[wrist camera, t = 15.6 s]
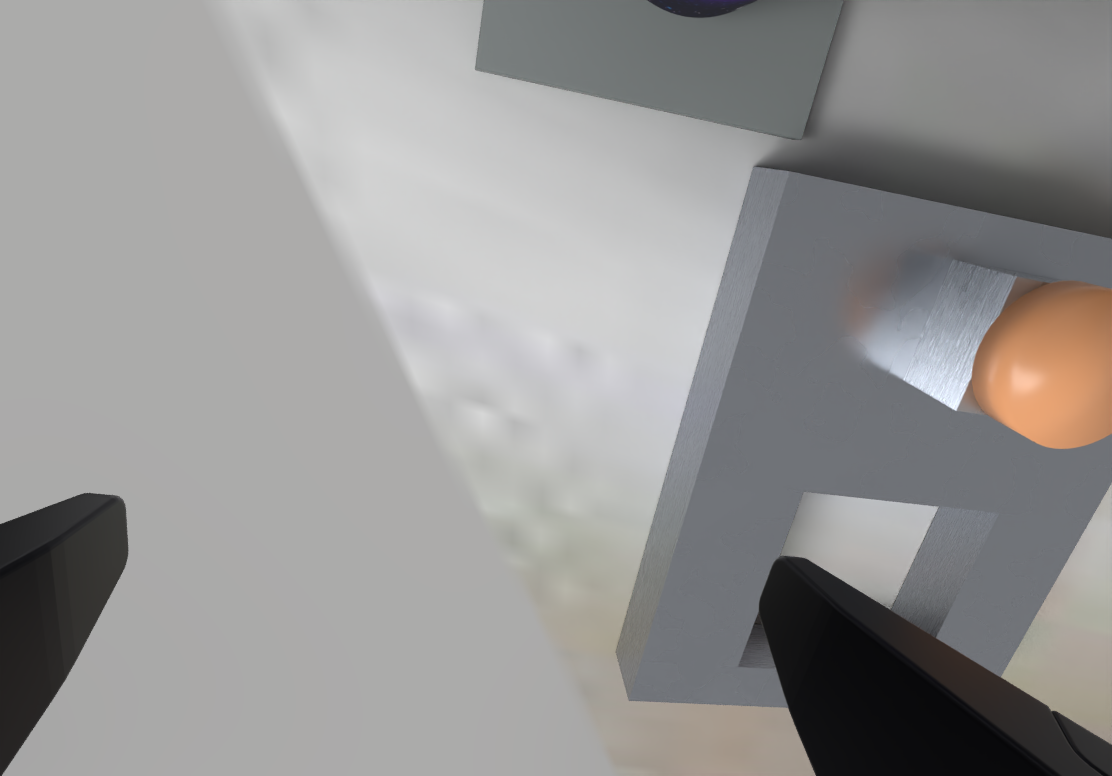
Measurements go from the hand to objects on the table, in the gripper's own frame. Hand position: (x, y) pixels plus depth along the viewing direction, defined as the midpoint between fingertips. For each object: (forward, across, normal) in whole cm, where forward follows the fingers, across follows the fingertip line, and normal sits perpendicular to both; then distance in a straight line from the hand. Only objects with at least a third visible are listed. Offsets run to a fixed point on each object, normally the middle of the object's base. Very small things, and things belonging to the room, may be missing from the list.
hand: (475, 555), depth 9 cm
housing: (+13, -16, +4) cm, 21 cm away
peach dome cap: (+9, -16, -2) cm, 19 cm away
